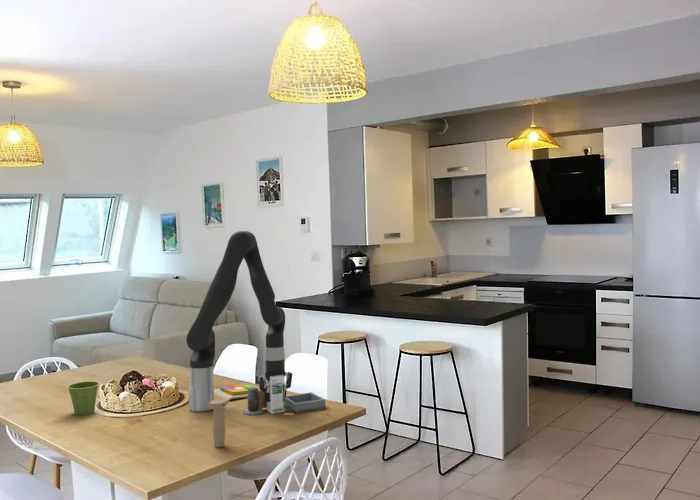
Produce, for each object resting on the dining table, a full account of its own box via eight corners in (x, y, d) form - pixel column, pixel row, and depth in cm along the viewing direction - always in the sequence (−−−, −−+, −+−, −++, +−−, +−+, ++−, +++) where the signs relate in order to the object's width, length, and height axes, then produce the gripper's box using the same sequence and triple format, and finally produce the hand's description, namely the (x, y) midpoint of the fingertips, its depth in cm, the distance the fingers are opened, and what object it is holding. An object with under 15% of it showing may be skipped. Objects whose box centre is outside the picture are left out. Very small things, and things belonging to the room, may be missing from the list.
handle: (207, 447, 201) (206, 402, 201) (221, 442, 207) (220, 397, 206) (217, 450, 199) (216, 404, 198) (231, 444, 204) (230, 400, 203)
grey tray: (295, 413, 238) (295, 404, 238) (282, 405, 250) (282, 396, 249) (325, 408, 244) (325, 399, 244) (311, 400, 256) (311, 392, 256)
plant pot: (89, 406, 251) (88, 379, 250) (106, 411, 244) (105, 383, 244) (61, 414, 241) (60, 385, 241) (78, 419, 234) (77, 390, 234)
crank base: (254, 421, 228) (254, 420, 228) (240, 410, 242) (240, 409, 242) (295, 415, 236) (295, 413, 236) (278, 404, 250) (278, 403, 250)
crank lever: (250, 411, 238) (250, 391, 238) (246, 408, 241) (246, 388, 241) (283, 405, 246) (283, 385, 246) (279, 403, 249) (279, 383, 249)
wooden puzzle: (267, 395, 267) (267, 387, 267) (228, 403, 256) (227, 394, 255) (249, 387, 281) (248, 380, 281) (210, 394, 270) (210, 386, 269)
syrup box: (271, 414, 237) (271, 377, 237) (266, 410, 243) (265, 374, 242) (285, 412, 240) (284, 375, 240) (280, 408, 245) (279, 372, 245)
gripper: (288, 354, 247) (288, 395, 248) (254, 358, 241) (255, 400, 241) (295, 357, 241) (296, 400, 241) (261, 361, 234) (261, 405, 235)
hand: (275, 400), depth 241 cm, fingers closed on syrup box, 5 cm apart
